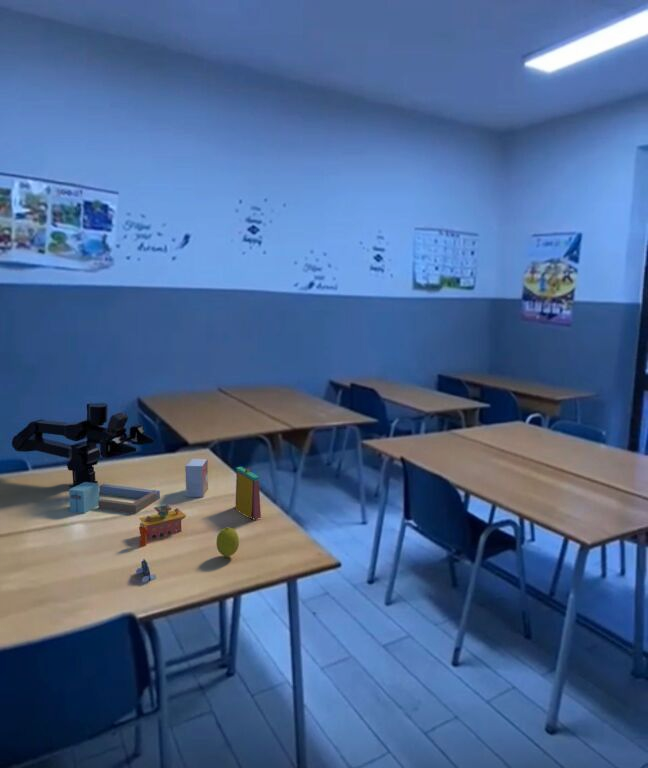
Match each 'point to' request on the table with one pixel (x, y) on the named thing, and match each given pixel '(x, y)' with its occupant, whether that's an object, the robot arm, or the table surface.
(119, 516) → the table surface
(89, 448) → the robot arm
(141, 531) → the toy shop counter set
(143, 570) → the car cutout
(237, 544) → the lemon
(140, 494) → the u-shaped bar frame
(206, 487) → the small box
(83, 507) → the blue block with grip
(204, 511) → the table surface
